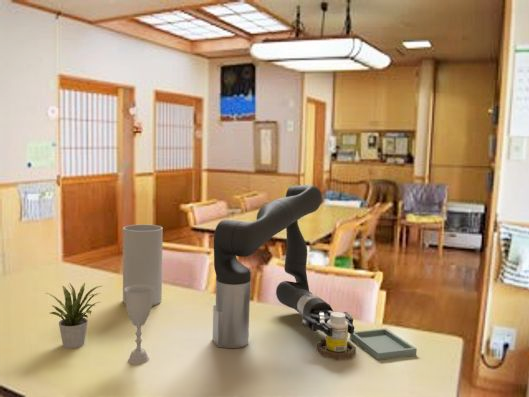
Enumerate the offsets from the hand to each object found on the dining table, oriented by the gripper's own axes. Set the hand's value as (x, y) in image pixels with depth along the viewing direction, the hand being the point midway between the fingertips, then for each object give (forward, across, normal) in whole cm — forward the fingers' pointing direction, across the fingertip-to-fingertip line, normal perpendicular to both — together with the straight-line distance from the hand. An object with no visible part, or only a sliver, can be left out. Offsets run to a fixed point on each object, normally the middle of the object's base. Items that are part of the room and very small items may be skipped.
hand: (341, 331), depth 127 cm
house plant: (-24, -64, +7) cm, 69 cm away
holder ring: (-3, 0, +6) cm, 7 cm away
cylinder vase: (-55, -45, +7) cm, 71 cm away
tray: (-3, +14, +6) cm, 16 cm away
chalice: (-11, -50, +7) cm, 52 cm away
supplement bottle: (-3, 0, +7) cm, 7 cm away
